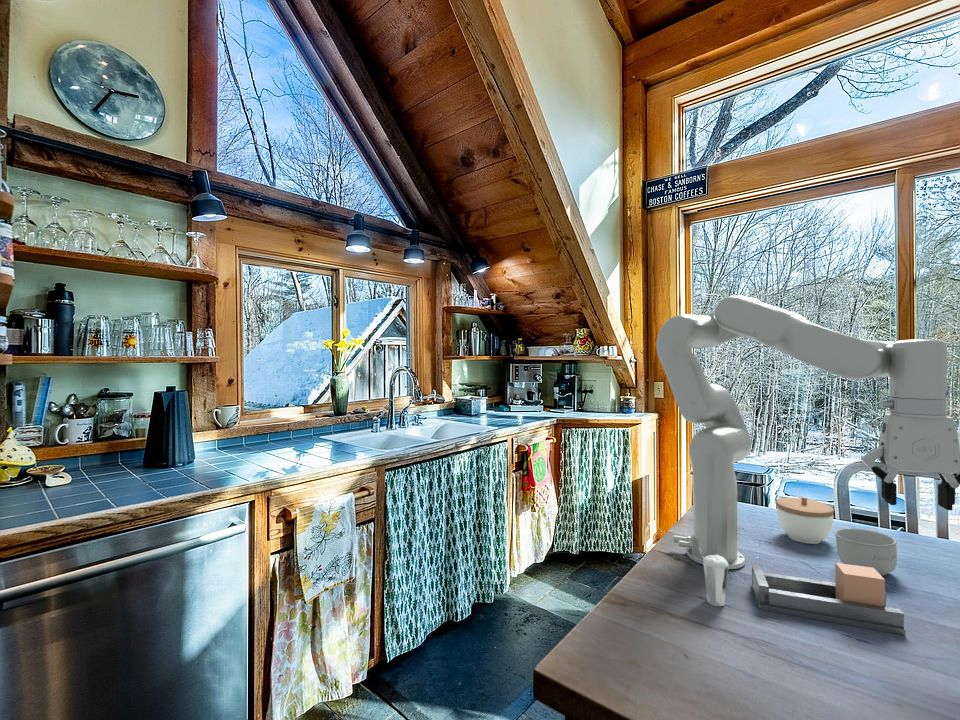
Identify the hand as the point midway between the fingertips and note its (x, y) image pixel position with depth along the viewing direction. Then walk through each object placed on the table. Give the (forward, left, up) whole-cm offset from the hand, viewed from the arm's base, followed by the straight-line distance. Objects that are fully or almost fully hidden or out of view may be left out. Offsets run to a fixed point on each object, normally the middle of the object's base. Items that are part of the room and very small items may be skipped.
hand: (917, 504), depth 84 cm
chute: (-14, 0, -22) cm, 26 cm away
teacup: (+1, +24, -22) cm, 33 cm away
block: (-9, 0, -20) cm, 22 cm away
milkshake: (-33, -5, -22) cm, 40 cm away
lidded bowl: (-8, +39, -22) cm, 46 cm away
